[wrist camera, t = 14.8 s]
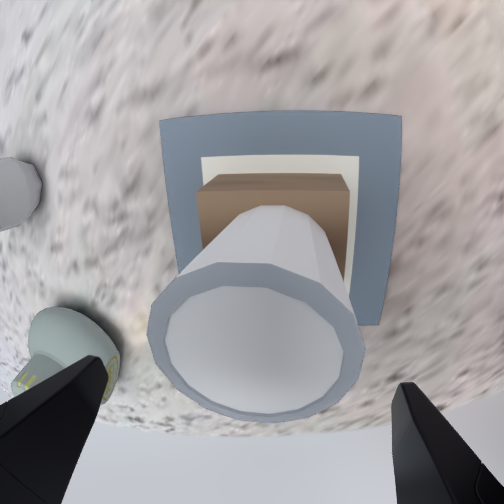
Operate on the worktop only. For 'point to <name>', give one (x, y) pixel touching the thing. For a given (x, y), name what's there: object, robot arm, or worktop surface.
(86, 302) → the worktop surface
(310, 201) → the walnut block
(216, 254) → the white cup
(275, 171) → the board
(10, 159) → the salt shaker
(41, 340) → the air freshener
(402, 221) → the worktop surface
